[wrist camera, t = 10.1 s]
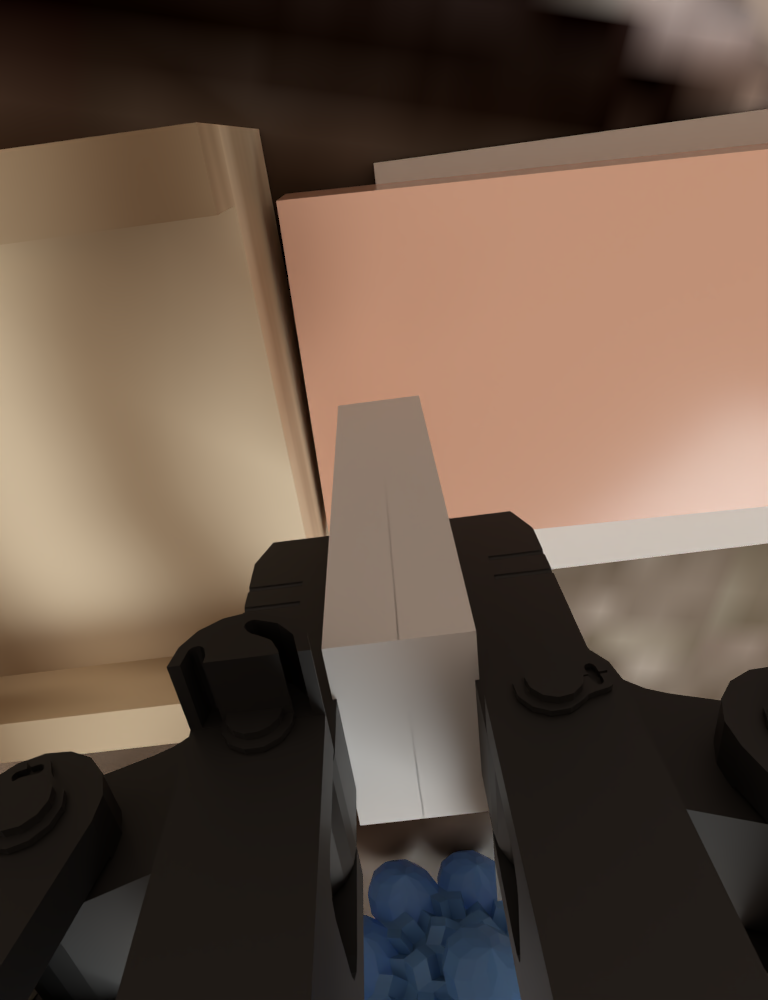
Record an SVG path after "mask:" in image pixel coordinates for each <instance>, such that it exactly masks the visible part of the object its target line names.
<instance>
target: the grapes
mask: <svg viewBox="0 0 768 1000" xmlns="http://www.w3.org/2000/svg"><path fill="white" fill-rule="evenodd" d="M437 880H438V885H437V883H436V882H435V881H434V880H433V878H432V877H431V876H430V875H429V873H428V872H427V871H426V870H425V869H423V868H422V867H420V866H419V865H417V864H415V863H413V862H411V861H408V860H406V859H402V860H391V861H388V862H385V863H383V864H382V865H381V866H380V867H379V868H377V869H376V870H375V871H374V873H373V876H372V879H371V883H370V886H369V891H368V898H369V903H370V908H371V913H372V915H373V916H374V917H375V919H374V918H371V917H369V916H367V915H363V933H364V1000H521V997H520V991H519V986H518V981H517V975H516V970H515V965H514V959H513V954H512V949H511V944H510V938H509V933H508V928H507V922H506V917H505V912H504V906H503V901H497V887H496V871H495V861H493V860H491V859H489V858H488V857H486V856H484V855H482V854H480V853H478V852H476V851H474V850H466V851H458V852H454V853H452V854H451V855H450V856H448V857H447V858H446V859H445V860H443V861H442V862H441V866H440V870H439V873H438V877H437Z"/></svg>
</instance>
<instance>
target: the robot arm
mask: <svg viewBox="0 0 768 1000" xmlns="http://www.w3.org/2000/svg"><path fill="white" fill-rule="evenodd" d="M244 609H245V613H243V614H239V615H235V616H231V617H227V618H223V619H221V620H219V621H217V622H215V623H213V624H211V625H209V626H207V627H205V628H203V629H201V630H199V631H197V632H196V633H195V634H194V635H193V636H191V637H190V638H189V639H188V640H187V641H186V642H184V643H183V644H182V645H181V646H180V647H179V648H178V649H177V651H176V652H175V654H174V656H173V657H172V659H171V661H170V662H169V664H168V666H167V670H168V673H169V675H170V678H171V681H172V683H173V686H174V688H175V691H176V694H177V696H178V699H179V702H180V704H181V707H182V709H183V712H184V715H185V717H186V720H187V723H188V725H189V728H190V730H191V731H190V734H189V737H188V738H186V739H185V740H183V741H182V742H180V743H179V744H177V745H176V746H174V747H172V748H170V749H168V750H165V751H163V752H161V753H159V754H157V755H155V756H152V757H150V758H147V759H144V760H142V761H139V762H137V763H134V764H131V765H129V766H126V767H123V768H121V769H118V770H116V771H113V772H110V773H108V774H105V775H103V773H102V772H101V770H100V769H99V768H98V766H97V765H96V764H95V762H94V761H93V760H92V758H90V757H87V756H84V755H81V754H78V753H75V752H72V751H69V752H57V753H45V754H43V755H40V756H37V757H35V758H32V759H29V760H26V761H24V762H21V763H18V764H16V765H15V766H13V767H11V768H10V769H8V770H7V771H5V772H4V773H2V774H0V1000H364V933H363V874H362V869H361V864H360V860H359V855H358V851H357V847H356V808H357V813H358V817H359V822H360V826H361V825H370V824H379V823H388V822H397V821H406V820H415V819H424V818H433V817H442V816H451V815H461V814H470V813H479V812H488V808H489V813H490V818H491V823H492V828H493V840H494V855H495V871H496V887H497V901H503V906H504V912H505V917H506V922H507V928H508V933H509V938H510V944H511V949H512V954H513V959H514V965H515V970H516V975H517V981H518V986H519V991H520V997H521V1000H768V667H766V668H759V669H752V670H749V671H747V672H745V673H743V674H742V675H740V676H738V677H737V678H735V679H733V680H731V681H730V683H729V685H728V687H727V689H726V691H725V693H724V694H723V696H722V698H721V701H720V700H713V699H705V698H698V697H691V696H683V695H676V694H668V693H664V692H659V691H654V690H650V689H645V688H643V687H640V686H638V685H635V684H633V683H630V682H627V681H625V680H623V679H622V678H621V677H620V675H619V674H618V673H617V672H616V670H615V669H614V668H613V666H612V665H611V664H610V663H609V662H608V661H607V660H605V659H604V658H602V657H600V656H599V655H597V654H596V653H594V652H592V651H591V650H589V649H588V647H587V646H586V644H585V641H584V639H583V637H582V635H581V633H580V630H579V628H578V626H577V624H576V622H575V619H574V617H573V615H572V613H571V611H570V608H569V606H568V604H567V602H566V600H565V597H564V595H563V593H562V591H561V589H560V586H559V584H558V582H557V580H556V578H555V575H554V573H552V571H551V567H550V564H549V562H548V560H547V558H546V556H545V554H543V549H542V547H541V545H540V542H539V540H538V538H537V536H536V534H535V531H534V529H533V527H531V526H530V525H528V524H527V523H526V522H524V521H523V520H522V519H520V518H519V517H518V516H516V515H515V514H514V513H512V512H511V511H506V512H498V513H490V514H482V515H474V516H466V517H458V518H449V517H448V513H447V509H446V505H445V501H444V497H443V493H442V489H441V485H440V480H439V476H438V472H437V468H436V464H435V460H434V456H433V452H432V448H431V443H430V439H429V435H428V431H427V427H426V423H425V419H424V415H423V411H422V406H421V402H420V398H419V395H418V396H410V397H402V398H394V399H386V400H379V401H371V402H363V403H355V404H347V405H340V406H338V416H337V431H336V445H335V460H334V474H333V489H332V503H331V517H330V532H329V536H323V537H314V538H306V539H298V540H290V541H282V542H274V543H272V545H271V546H270V547H269V548H268V549H267V550H266V552H265V553H264V554H263V555H262V556H261V557H260V559H259V560H258V561H257V562H256V563H255V565H254V569H253V573H252V577H251V582H250V586H249V592H248V594H247V598H246V602H245V607H244Z"/></svg>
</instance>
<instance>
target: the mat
mask: <svg viewBox="0 0 768 1000" xmlns="http://www.w3.org/2000/svg"><path fill="white" fill-rule="evenodd" d="M762 143H768V109H763V110H755V111H748V112H741V113H734V114H726V115H719V116H712V117H705V118H697V119H690V120H683V121H676V122H668V123H661V124H654V125H647V126H639V127H632V128H625V129H617V130H610V131H603V132H596V133H588V134H581V135H574V136H567V137H559V138H552V139H545V140H538V141H530V142H523V143H516V144H509V145H501V146H494V147H487V148H479V149H472V150H465V151H458V152H450V153H443V154H436V155H429V156H421V157H414V158H407V159H400V160H392V161H385V162H378V163H373V165H374V174H375V183H376V184H383V183H393V182H402V181H412V180H421V179H431V178H440V177H450V176H459V175H469V174H478V173H488V172H497V171H506V170H516V169H525V168H535V167H544V166H554V165H563V164H573V163H582V162H592V161H601V160H611V159H620V158H630V157H639V156H649V155H658V154H668V153H677V152H687V151H696V150H706V149H715V148H725V147H734V146H744V145H753V144H762ZM534 531H535V534H536V536H537V538H538V540H539V542H540V545H541V547H542V549H543V554H545V556H546V558H547V560H548V562H549V564H550V567H551V569H557V568H566V567H574V566H582V565H591V564H599V563H607V562H616V561H624V560H632V559H641V558H649V557H657V556H666V555H674V554H682V553H691V552H699V551H707V550H716V549H724V548H732V547H740V546H749V545H757V544H765V543H768V506H766V507H756V508H746V509H736V510H725V511H715V512H705V513H695V514H685V515H675V516H664V517H654V518H644V519H634V520H624V521H613V522H603V523H593V524H583V525H573V526H563V527H552V528H542V529H534Z"/></svg>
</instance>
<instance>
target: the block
mask: <svg viewBox="0 0 768 1000" xmlns="http://www.w3.org/2000/svg"><path fill="white" fill-rule="evenodd" d="M276 203H277V209H278V216H279V222H280V228H281V235H282V241H283V247H284V253H285V260H286V266H287V272H288V279H289V285H290V291H291V298H292V304H293V310H294V317H295V323H296V329H297V336H298V342H299V348H300V355H301V361H302V367H303V373H304V380H305V386H306V392H307V399H308V405H309V411H310V418H311V424H312V430H313V437H314V443H315V449H316V456H317V462H318V468H319V475H320V481H321V487H322V493H323V500H324V506H325V512H326V519H327V525H328V531H329V532H330V517H331V503H332V489H333V474H334V460H335V445H336V431H337V416H338V406H340V405H347V404H355V403H363V402H371V401H379V400H386V399H394V398H402V397H410V396H418V395H419V398H420V402H421V406H422V411H423V415H424V419H425V423H426V427H427V431H428V435H429V439H430V443H431V448H432V452H433V456H434V460H435V464H436V468H437V472H438V476H439V480H440V485H441V489H442V493H443V497H444V501H445V505H446V509H447V513H448V517H449V518H458V517H466V516H474V515H482V514H490V513H498V512H506V511H511V512H512V513H514V514H515V515H516V516H518V517H519V518H520V519H522V520H523V521H524V522H526V523H527V524H528V525H530V526H531V527H533V529H542V528H552V527H563V526H573V525H583V524H593V523H603V522H613V521H624V520H634V519H644V518H654V517H664V516H675V515H685V514H695V513H705V512H715V511H725V510H736V509H746V508H756V507H766V506H768V143H762V144H753V145H744V146H734V147H725V148H715V149H706V150H696V151H687V152H677V153H668V154H658V155H649V156H639V157H630V158H620V159H611V160H601V161H592V162H582V163H573V164H563V165H554V166H544V167H535V168H525V169H516V170H506V171H497V172H488V173H478V174H469V175H459V176H450V177H440V178H431V179H421V180H412V181H402V182H393V183H383V184H374V185H364V186H355V187H345V188H336V189H326V190H317V191H307V192H298V193H288V194H285V195H283V196H282V197H281V198H279V199H278V200H277V201H276Z"/></svg>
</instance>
